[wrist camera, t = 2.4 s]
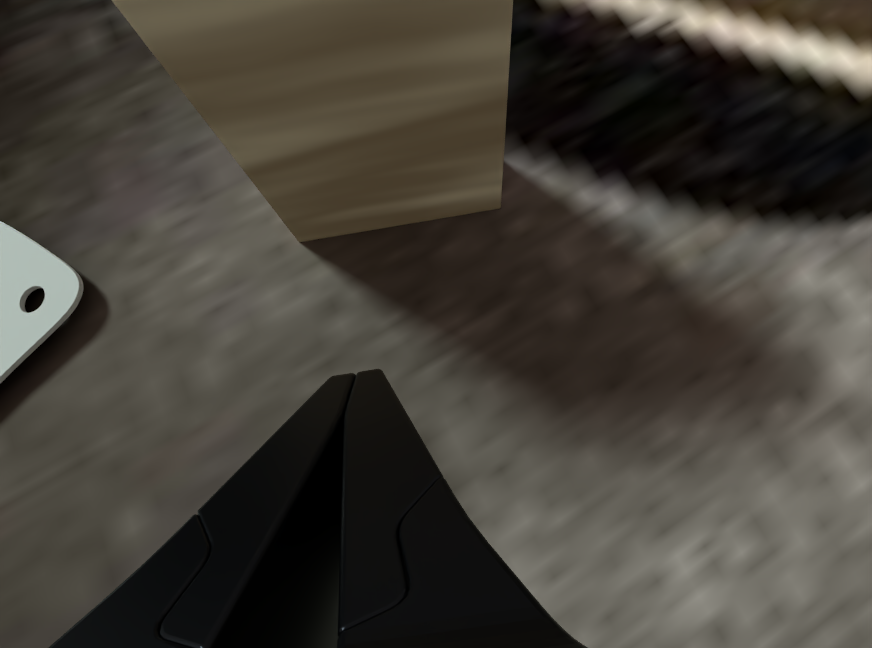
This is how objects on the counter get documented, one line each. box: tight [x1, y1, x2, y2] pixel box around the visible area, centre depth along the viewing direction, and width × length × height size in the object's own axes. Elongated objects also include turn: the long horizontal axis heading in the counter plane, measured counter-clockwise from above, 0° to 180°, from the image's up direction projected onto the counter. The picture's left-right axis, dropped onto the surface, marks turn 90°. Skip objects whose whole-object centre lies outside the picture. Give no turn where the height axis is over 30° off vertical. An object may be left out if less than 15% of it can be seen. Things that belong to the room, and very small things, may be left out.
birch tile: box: [112, 0, 513, 242], centre depth 16 cm, size 2×8×12 cm, turn 98°
